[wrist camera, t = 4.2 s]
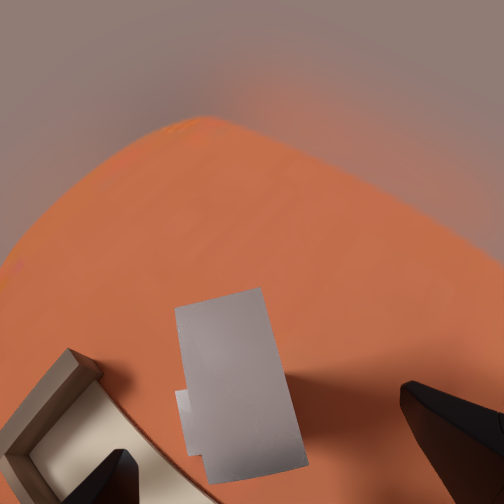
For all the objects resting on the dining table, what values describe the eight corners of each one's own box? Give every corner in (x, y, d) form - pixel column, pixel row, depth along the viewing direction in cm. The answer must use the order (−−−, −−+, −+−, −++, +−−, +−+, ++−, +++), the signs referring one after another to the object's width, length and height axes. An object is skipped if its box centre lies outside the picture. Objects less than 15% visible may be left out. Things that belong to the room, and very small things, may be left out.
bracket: (294, 434, 16) (309, 465, 5) (194, 454, 15) (56, 482, 5) (277, 372, 18) (260, 286, 7) (181, 393, 17) (42, 336, 7)
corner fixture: (241, 507, 13) (233, 522, 11) (130, 588, 9) (110, 603, 7) (92, 359, 19) (67, 347, 16) (14, 450, 15) (-12, 447, 12)
